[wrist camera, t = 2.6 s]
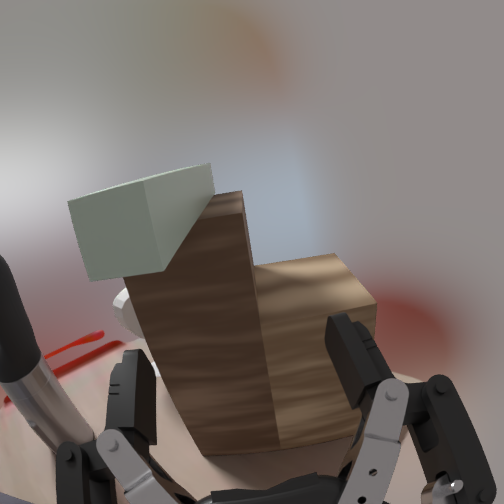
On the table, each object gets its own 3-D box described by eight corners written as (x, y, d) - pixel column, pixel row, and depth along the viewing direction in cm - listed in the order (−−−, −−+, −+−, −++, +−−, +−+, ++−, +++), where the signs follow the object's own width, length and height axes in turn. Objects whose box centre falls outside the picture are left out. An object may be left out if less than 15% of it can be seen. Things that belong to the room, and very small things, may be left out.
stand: (358, 433, 32) (377, 195, 21) (202, 455, 32) (111, 236, 22) (335, 372, 45) (328, 179, 35) (209, 390, 45) (156, 205, 35)
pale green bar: (163, 271, 12) (142, 180, 11) (90, 281, 12) (67, 201, 11) (215, 192, 37) (210, 162, 35) (185, 198, 37) (180, 168, 35)
